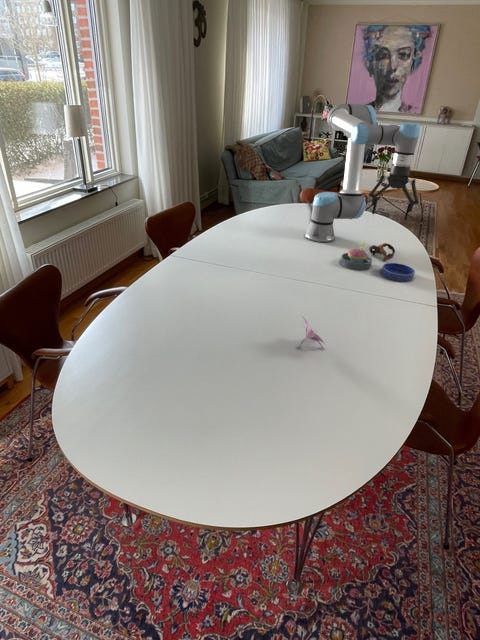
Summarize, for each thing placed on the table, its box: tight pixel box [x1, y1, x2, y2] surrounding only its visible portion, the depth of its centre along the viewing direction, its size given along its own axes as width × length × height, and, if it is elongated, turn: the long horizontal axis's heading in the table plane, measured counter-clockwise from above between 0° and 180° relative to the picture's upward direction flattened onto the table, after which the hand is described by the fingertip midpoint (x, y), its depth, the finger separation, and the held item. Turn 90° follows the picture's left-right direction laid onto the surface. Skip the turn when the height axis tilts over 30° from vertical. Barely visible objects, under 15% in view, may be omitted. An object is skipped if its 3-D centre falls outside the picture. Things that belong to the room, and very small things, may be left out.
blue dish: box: [380, 262, 416, 282], centre depth 191 cm, size 14×14×3 cm
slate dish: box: [340, 252, 373, 271], centre depth 200 cm, size 14×14×3 cm
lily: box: [297, 314, 327, 349], centre depth 136 cm, size 12×12×10 cm
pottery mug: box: [368, 242, 396, 262], centre depth 208 cm, size 12×10×8 cm
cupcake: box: [347, 240, 368, 263], centre depth 197 cm, size 9×8×12 cm
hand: (389, 216), depth 186 cm, fingers open, 13 cm apart
